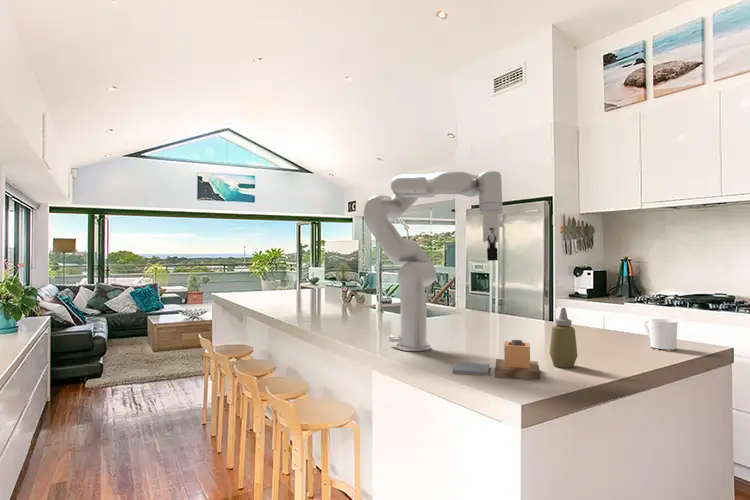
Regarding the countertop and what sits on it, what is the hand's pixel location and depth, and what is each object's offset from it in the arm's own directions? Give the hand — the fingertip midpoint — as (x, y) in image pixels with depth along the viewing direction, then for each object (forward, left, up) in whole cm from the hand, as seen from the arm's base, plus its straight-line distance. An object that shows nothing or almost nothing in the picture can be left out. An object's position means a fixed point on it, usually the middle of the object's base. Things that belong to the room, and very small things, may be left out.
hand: (492, 260), depth 159 cm
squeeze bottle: (+22, -5, -33) cm, 40 cm away
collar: (+8, -18, -30) cm, 36 cm away
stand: (+8, -18, -33) cm, 38 cm away
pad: (-5, -18, -33) cm, 38 cm away
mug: (+59, +33, -33) cm, 75 cm away
